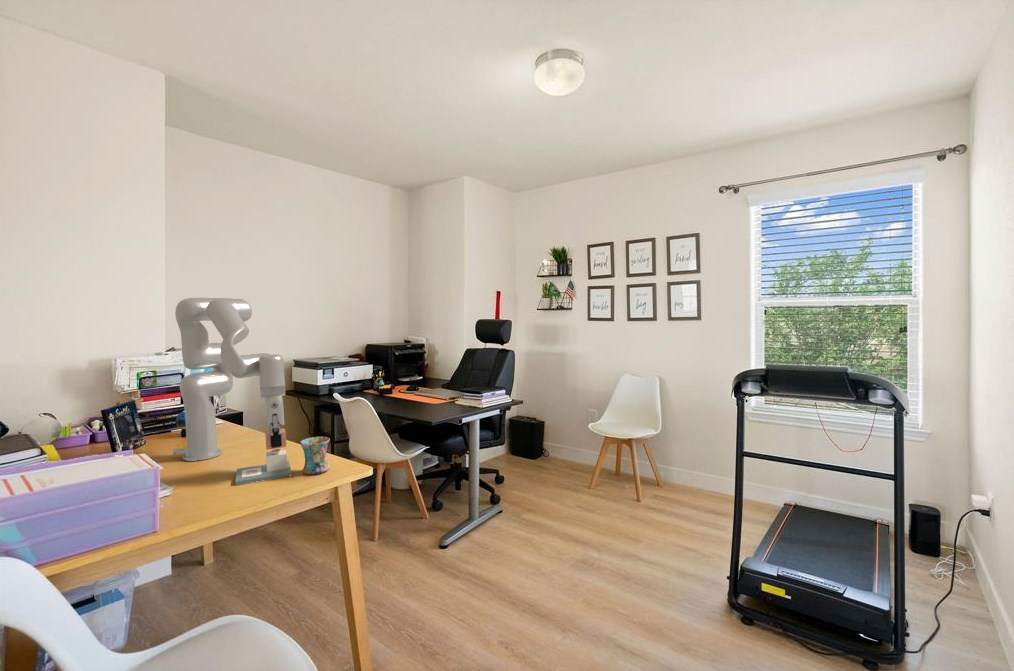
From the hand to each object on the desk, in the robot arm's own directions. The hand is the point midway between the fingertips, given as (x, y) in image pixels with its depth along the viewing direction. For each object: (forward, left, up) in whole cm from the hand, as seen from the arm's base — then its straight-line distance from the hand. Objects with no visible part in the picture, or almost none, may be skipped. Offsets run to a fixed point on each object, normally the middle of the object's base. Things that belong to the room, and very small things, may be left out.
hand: (276, 443), depth 160 cm
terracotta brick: (0, 0, -1) cm, 1 cm away
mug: (+12, -9, -10) cm, 18 cm away
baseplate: (-4, -1, -9) cm, 10 cm away
